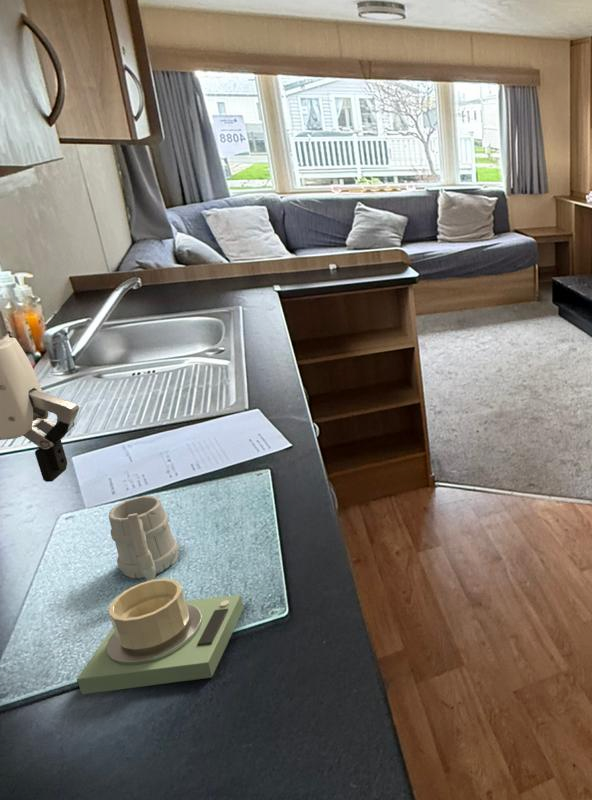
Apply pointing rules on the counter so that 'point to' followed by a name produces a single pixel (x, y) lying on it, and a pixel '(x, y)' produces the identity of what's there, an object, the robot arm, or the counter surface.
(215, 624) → the scale
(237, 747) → the counter surface
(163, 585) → the bowl
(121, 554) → the mug
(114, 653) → the platform
